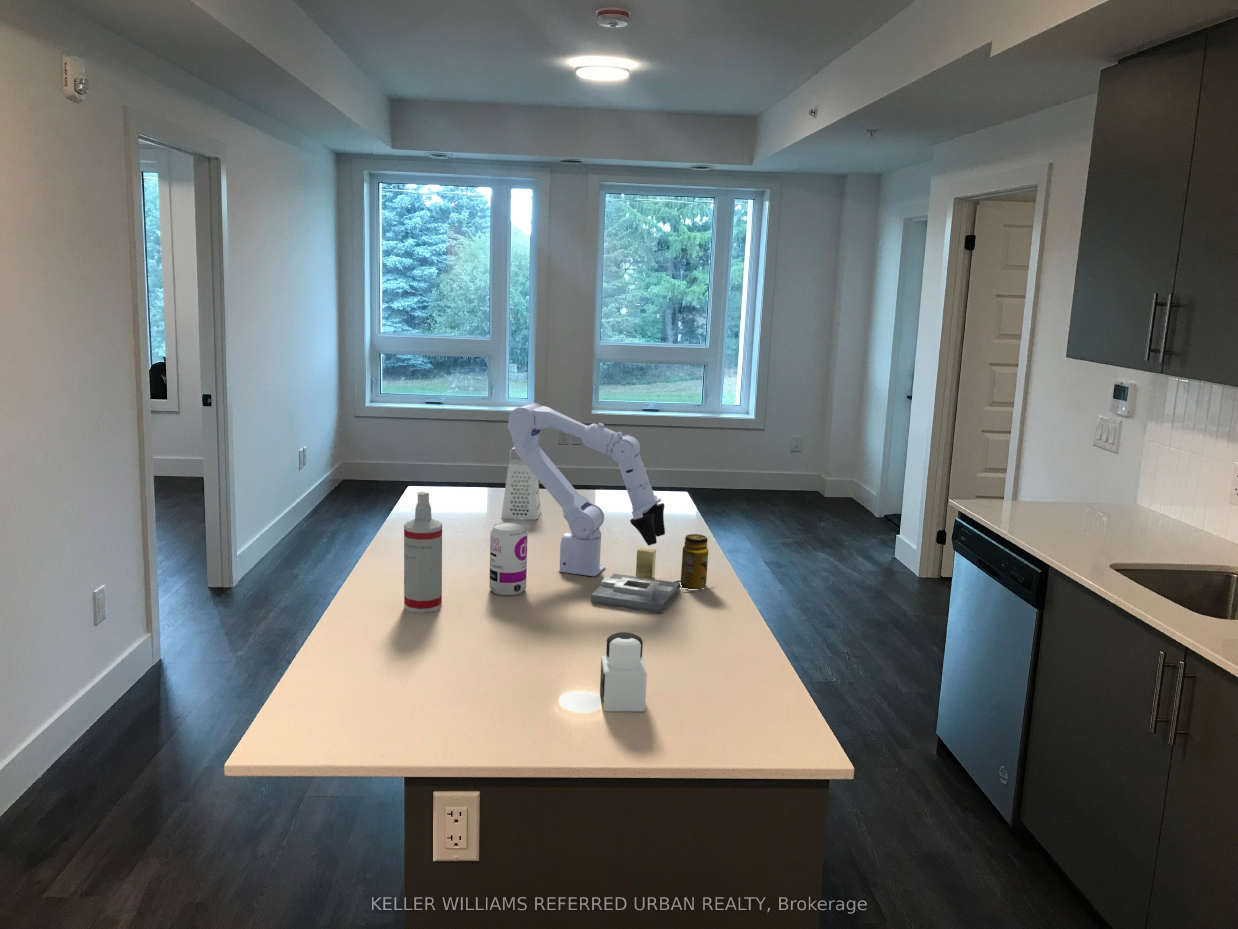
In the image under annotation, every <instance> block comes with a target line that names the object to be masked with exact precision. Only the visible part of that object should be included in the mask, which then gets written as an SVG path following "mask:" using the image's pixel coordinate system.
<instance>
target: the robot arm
mask: <svg viewBox="0 0 1238 929" xmlns="http://www.w3.org/2000/svg"><path fill="white" fill-rule="evenodd" d="M507 422H508V423H507V428H506V429H508V430H509V432H510V434H511V439H512V440H511V441H512V444H513V447H514V448H515V449H514V451H515V453H516V455H517V456H518V458H520V460H522V461H523V462H524V463H525V464H526V465H527V466H528V468H529V469H530V470H531V471H532V472H533V474H534V475H535V476H536V477H537V478H538V482H540V483H541V485H542V486H543V487H544V488H545V489H546V490H547V492H548V493H549V494H550V495H551V496H552V498H553V499H554V500H555V501H556V503H557V504H558V506H560V508H562V509H561V510H562V514H563V518H564V519H565V521H566V522H567V524H568V529H569V530H570V532H565V533H563V535H562V537H561V540H560V550H559V568H558V572H560V573H567V574H568V573H569V574H573V575H582V576H587V577H588V576H589V577H597V576H598V575H599V574H600V573H601V572H602V571H604V569H606V565H603V564H601V550H602V547H601V546H602V532H601V530H600V527H601V526H603V525H604V524H603V523H604V521H605V514H604V512H603V509H602V507H600V506H598V505H597V504H594V503H593V502H591V501H590V499H588V497H586V496H584V495H582V494H580V493H579V492H578V491H577V490H576V488H574V486H573V485H572V484H571V482H569V480H568V479H567V478H566V476H565V475H564V474H563V473H562V471H561V470H559V469H558V467H557V466H556V465H555V463H554V462H553V461H552V460H551V459H550V457H549V456H548V455H547V454H546V453H545V451H544V450H543V449H542V448H541V447H540V445H539V441H540V440H539V439H540V432H541V430H543V429H544V430H545V429H549V428H552V429H555V430H558V431H560V432H563V433H566V434H567V435H570V436H574V437H576V438H578V439H579V438H580V439H581V440H582V442H583V444H584V446H585V447H588V448H590V449H592V450H595V451H597V452H600V453H602V454H604V455H606V456H610V457H611V459H612V460H613V461H614V462H616V464H618V467H619V470H620V474H621V477H622V480H623V482H624V485H625V488H626V492H627V494H628V497H629V500H630V503H631V506H632V507H631V509H632V511H631V514H632V517H633V518H631V519H630V520H629V522H630V524H631V525H632V527H634V528H635V529H636V530H637V531H638V533H640V535H641V537H642V539H643V540H644V542H645V543H646V545H647V546H648V547H649V546H652V545H655V544H657V538H658V537H661V536H665V535H666V528H665V520H664V519H665V517H664V515H665V514H664V513H665V511H664V510H665V503H664V502H661V501H662V499H661V497H660V498H658V497H657V495H655V493H654V490H653V487H652V486H651V484H652V483H651V482H650V479H649V476H648V474H647V470H646V467H645V465H644V462H643V459H642V456H641V454H640V452H641V444H640V442H639V440H638V439H637V438H636V437H635V436H633V435H631V434H624V435H623V432H621V431H618V432H616V431H614V430H611V429H609V428H606V427H605V424H603V423H601V422H598V423H592V424H590V425H587V424H584V423H582V422H580V421H578V420H576V419H573V418H571V417H569V416H567V415H565V414H564V413H561V412H558V411H556V410H554V409H552V408H551V407H548V406H546V405H541V404H540V403H539V404H538V403H536V402H530V403H527V404H526V405H524V406H519V407H516V408H514V409H513V410H512V411H511V412H510V414H509V416H508V421H507Z"/></svg>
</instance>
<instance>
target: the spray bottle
mask: <svg viewBox="0 0 1238 929" xmlns="http://www.w3.org/2000/svg"><path fill="white" fill-rule="evenodd" d="M403 577H404V578H403V581H404V582H403V598H404V599H403V603H404V607H403V608H404V609H405V608H406V609H407V610H406V609H405V610H406V611H407V612H409V613H410V612H411V613H415V612H418V613H417V614H426V613H425V612H430V613H433V612H436V611H438V610H440V609H441V607H442V606H443V604H442V603H443V601H442V600H443V598H442V597H443V587H442V586H443V523H442V522H440V521H439V520H435V519H433V518H432V507H431V504H430V493H429V492H424V491H418V492H417V503H416V505H415V514H414V518H413V519H412V520H409V521H406V522H405V523H404V524H403Z"/></svg>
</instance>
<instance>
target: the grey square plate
mask: <svg viewBox="0 0 1238 929" xmlns="http://www.w3.org/2000/svg"><path fill="white" fill-rule="evenodd" d="M622 577H625V578H632V579H639V580H646V581H653V582H660V585H661V586H667V587H673V592H672V593H671V594H670V596H668V595H661V594H655V593H654V594H653V595H652V596H647V595H640V594H633V593H627V592H620V591H613V587H607V586H601V585H600V586H599V587H597V588H596V589H595V591H593V593H591V596H590V598H591V600H590V603H591V604H596V605H602V606H608V607H612V608H613V607H614V608H621V609H627V610H635V611H641V612H646V613H647V612H648V613H653V614H654V613H655V614H660V615H662V614H663V613H664V612H665V610H666V609H667V608H668V606H669V605H670V604H671V603H672V601H673V600H674V599H675V597H677V595H678V594H679V592H680V591H681V590H680V583H677V582H674V581H669V580H662V579H655V578H654V579H649V578H641V577H636V576H633V575H626V574H620V573H613V574H612V575H611V576H609V578H612V579H619V580H620V579H621V578H622ZM627 586H632V587H639V588H647V587H642V586H635V585H627ZM677 593H678V594H677Z"/></svg>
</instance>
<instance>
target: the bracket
mask: <svg viewBox="0 0 1238 929" xmlns="http://www.w3.org/2000/svg"><path fill="white" fill-rule="evenodd" d="M627 585H635V586H642V587H647V588H639V587H632V586H627ZM600 586H607V587H613V591H620V592H627V593H633V594H640V595H647V596H652V595H653V594H654V593H655V594H661V595H668V596H670V594H671V593H672V592H673V587H667V586H661V585H660V582H653V581H646V580H639V579H632V578H625V577H622V578H621V579H620V580H619V579H612V578H610V577H604V578H603V579H602V580H601V582H600Z"/></svg>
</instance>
